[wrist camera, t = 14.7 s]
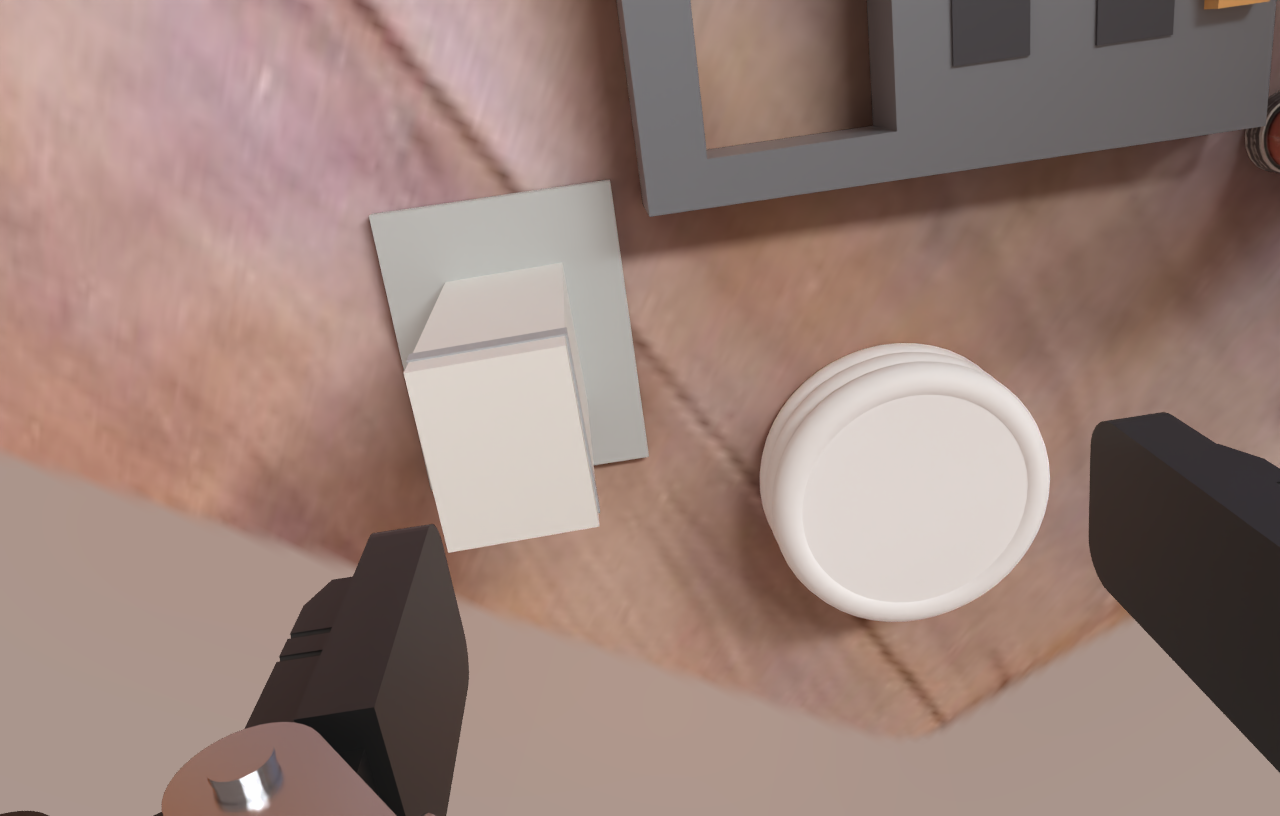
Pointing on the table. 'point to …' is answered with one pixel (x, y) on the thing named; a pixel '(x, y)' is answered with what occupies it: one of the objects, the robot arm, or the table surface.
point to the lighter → (1266, 138)
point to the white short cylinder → (903, 482)
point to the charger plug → (504, 410)
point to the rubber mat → (519, 239)
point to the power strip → (960, 92)
